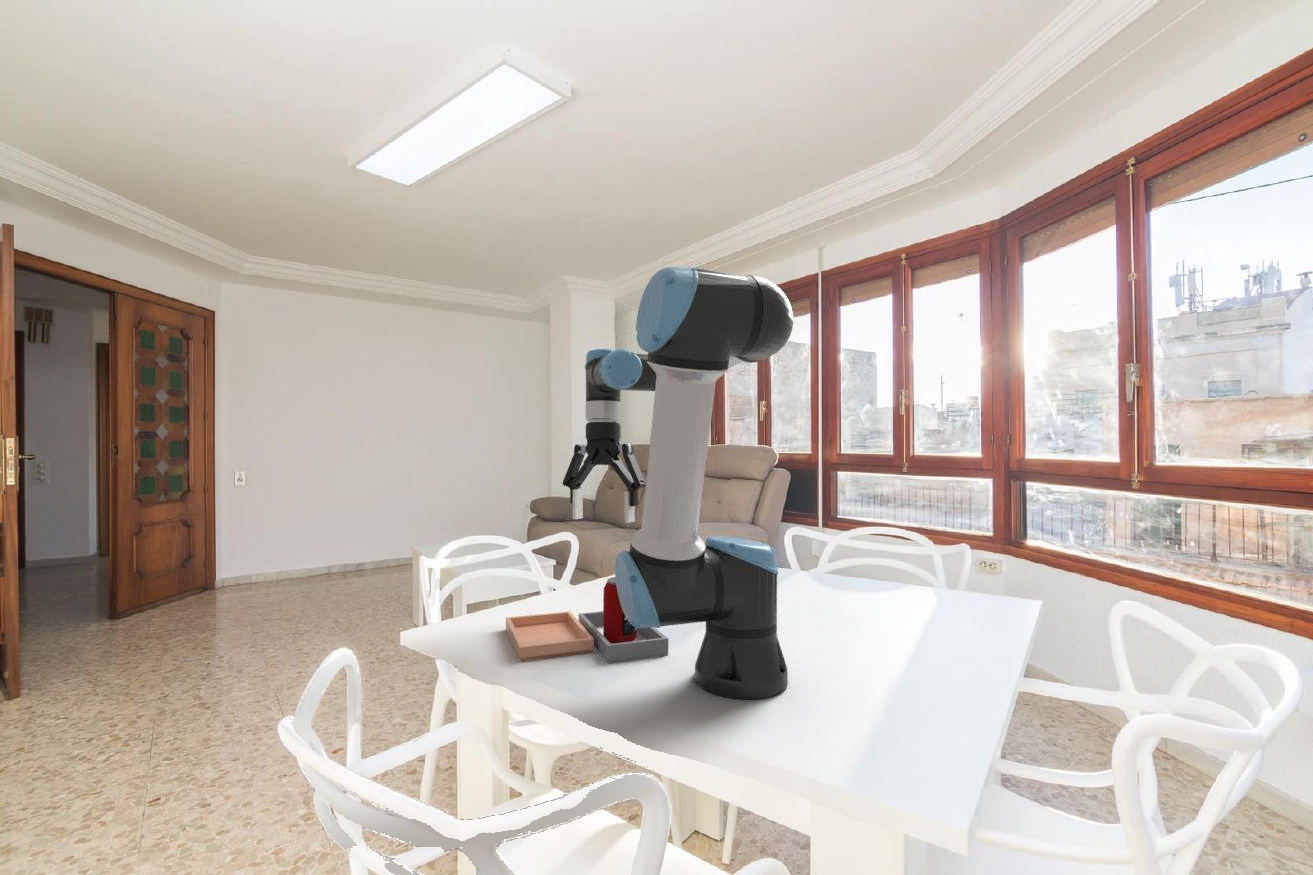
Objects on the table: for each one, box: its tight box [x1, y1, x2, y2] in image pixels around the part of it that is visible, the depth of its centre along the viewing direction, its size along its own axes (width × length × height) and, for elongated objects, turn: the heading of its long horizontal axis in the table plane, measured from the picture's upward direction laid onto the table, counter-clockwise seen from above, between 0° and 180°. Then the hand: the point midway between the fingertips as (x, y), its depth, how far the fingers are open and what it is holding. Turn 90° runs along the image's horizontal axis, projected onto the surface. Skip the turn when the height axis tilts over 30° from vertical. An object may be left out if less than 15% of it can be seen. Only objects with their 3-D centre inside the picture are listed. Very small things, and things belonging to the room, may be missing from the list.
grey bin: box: [578, 610, 669, 664], centre depth 119 cm, size 22×12×3 cm, turn 21°
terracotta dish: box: [505, 611, 595, 662], centre depth 119 cm, size 20×14×2 cm
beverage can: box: [602, 576, 638, 644], centre depth 119 cm, size 7×7×12 cm
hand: (603, 520), depth 129 cm, fingers open, 13 cm apart
